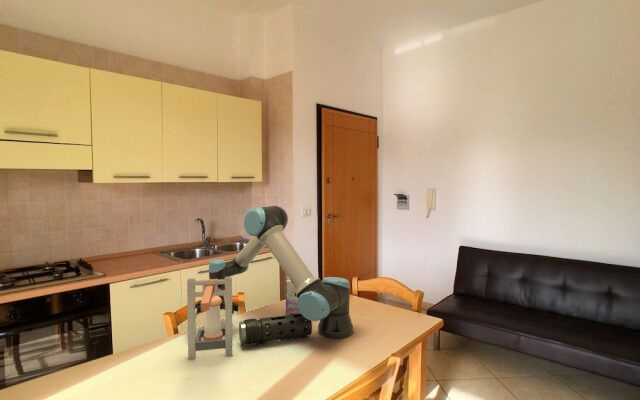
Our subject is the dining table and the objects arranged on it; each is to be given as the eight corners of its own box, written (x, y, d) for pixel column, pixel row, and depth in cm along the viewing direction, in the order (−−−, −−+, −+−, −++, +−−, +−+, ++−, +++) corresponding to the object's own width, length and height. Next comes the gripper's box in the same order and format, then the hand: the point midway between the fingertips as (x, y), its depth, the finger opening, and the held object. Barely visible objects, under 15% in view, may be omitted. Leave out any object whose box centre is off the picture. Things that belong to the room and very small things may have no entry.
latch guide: (189, 356, 133) (188, 278, 131) (232, 352, 136) (231, 276, 135) (188, 359, 131) (187, 280, 129) (232, 355, 134) (231, 278, 132)
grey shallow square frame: (198, 336, 150) (198, 329, 150) (229, 334, 153) (229, 327, 153) (194, 350, 138) (194, 342, 138) (228, 347, 141) (228, 340, 140)
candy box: (316, 312, 178) (316, 279, 177) (313, 317, 173) (313, 282, 172) (289, 310, 181) (289, 277, 180) (285, 314, 176) (285, 280, 175)
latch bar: (203, 293, 134) (203, 279, 134) (217, 292, 135) (217, 279, 135) (196, 315, 112) (196, 299, 112) (213, 314, 113) (213, 298, 113)
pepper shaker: (204, 347, 141) (204, 298, 139) (202, 339, 147) (202, 293, 146) (223, 344, 143) (223, 296, 142) (221, 336, 150) (220, 291, 149)
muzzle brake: (312, 341, 147) (312, 316, 146) (241, 352, 137) (241, 325, 136) (305, 332, 156) (305, 308, 155) (238, 341, 146) (238, 316, 145)
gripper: (243, 305, 168) (244, 323, 147) (187, 309, 163) (178, 328, 142) (243, 289, 168) (243, 305, 147) (186, 292, 163) (178, 309, 142)
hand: (211, 316), depth 145 cm, fingers open, 13 cm apart
